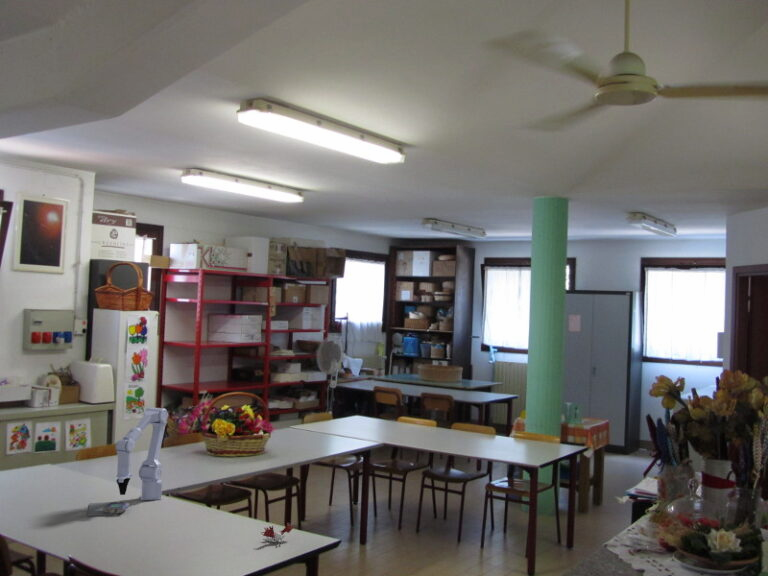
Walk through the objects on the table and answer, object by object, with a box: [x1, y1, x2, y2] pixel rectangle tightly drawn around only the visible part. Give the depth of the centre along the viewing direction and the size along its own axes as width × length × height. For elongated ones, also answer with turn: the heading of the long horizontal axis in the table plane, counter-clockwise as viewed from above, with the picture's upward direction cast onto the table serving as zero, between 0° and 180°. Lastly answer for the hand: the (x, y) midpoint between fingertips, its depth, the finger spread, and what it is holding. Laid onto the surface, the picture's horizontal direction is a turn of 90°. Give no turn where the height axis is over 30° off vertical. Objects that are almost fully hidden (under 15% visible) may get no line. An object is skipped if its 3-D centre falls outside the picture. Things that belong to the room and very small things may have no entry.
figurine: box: [260, 522, 294, 543], centre depth 297 cm, size 15×12×7 cm
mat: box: [87, 501, 118, 518], centre depth 332 cm, size 12×20×1 cm, turn 21°
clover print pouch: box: [103, 501, 131, 514], centre depth 328 cm, size 9×3×11 cm
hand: (122, 494), depth 336 cm, fingers closed
